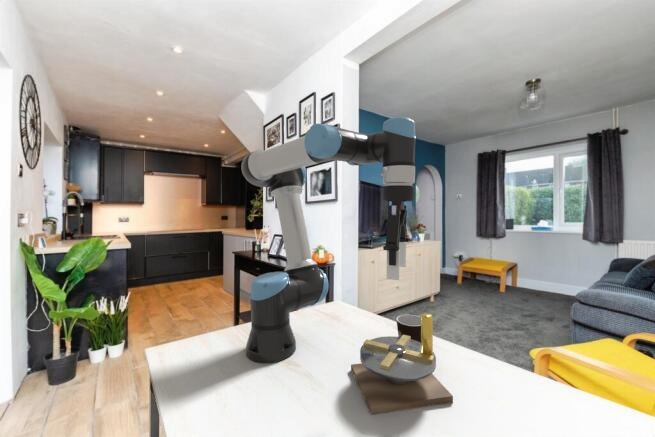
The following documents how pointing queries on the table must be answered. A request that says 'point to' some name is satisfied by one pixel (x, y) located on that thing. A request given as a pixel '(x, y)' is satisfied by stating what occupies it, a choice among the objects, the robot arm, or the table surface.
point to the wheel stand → (398, 391)
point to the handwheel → (401, 354)
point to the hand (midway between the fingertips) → (397, 272)
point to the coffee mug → (409, 326)
